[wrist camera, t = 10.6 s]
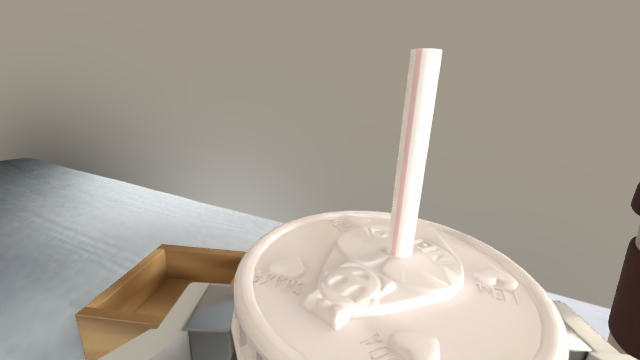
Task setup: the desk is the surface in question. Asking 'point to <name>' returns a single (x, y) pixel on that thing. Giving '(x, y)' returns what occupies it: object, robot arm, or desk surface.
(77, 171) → the desk surface
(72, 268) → the desk surface
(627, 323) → the coffee cup
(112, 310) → the tray
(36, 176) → the desk surface
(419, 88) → the smoothie
